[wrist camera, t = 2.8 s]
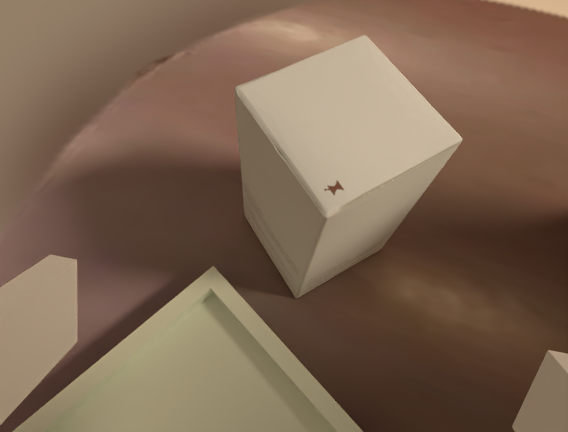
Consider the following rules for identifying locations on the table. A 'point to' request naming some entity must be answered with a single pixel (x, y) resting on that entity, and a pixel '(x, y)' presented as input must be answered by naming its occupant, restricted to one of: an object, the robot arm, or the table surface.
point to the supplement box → (334, 158)
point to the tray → (196, 376)
